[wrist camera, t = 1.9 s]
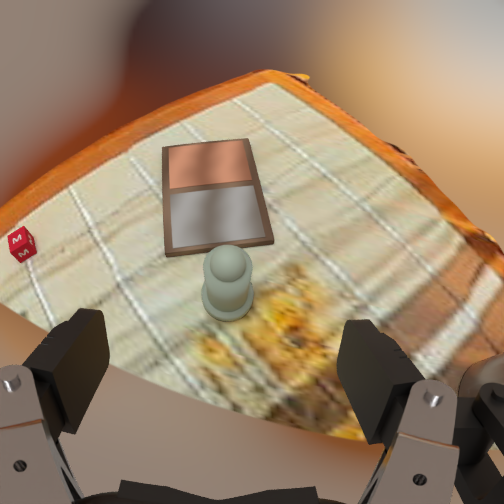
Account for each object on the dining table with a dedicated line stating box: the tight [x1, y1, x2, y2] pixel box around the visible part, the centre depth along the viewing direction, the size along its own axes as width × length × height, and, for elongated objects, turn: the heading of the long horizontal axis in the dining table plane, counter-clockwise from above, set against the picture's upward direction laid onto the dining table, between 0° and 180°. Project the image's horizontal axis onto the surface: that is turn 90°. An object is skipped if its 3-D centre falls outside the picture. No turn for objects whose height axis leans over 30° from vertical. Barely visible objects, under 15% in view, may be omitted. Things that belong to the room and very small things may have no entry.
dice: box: [8, 226, 37, 263], centre depth 36 cm, size 3×3×3 cm
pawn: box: [202, 245, 254, 322], centre depth 32 cm, size 6×6×10 cm
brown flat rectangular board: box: [162, 138, 274, 257], centre depth 43 cm, size 13×18×1 cm
